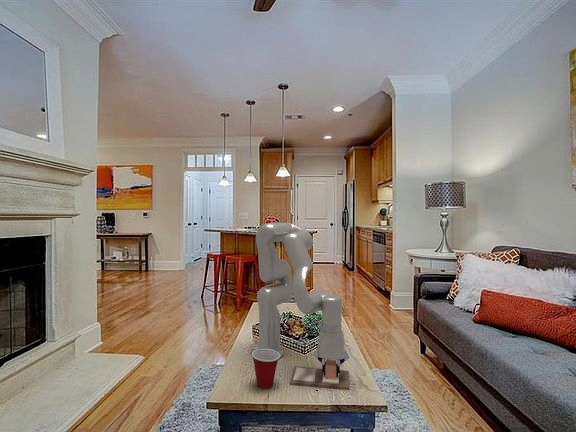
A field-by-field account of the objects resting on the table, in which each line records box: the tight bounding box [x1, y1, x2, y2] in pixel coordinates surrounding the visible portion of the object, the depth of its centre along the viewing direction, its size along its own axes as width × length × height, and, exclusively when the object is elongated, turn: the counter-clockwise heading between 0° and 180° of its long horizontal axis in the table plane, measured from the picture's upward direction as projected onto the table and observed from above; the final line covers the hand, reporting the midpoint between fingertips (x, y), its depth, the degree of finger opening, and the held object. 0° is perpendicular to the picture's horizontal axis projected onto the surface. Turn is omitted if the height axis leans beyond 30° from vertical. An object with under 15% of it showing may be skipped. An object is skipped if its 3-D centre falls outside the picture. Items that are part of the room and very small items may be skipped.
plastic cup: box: [251, 349, 281, 390], centre depth 130 cm, size 11×11×12 cm
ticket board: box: [289, 366, 350, 391], centre depth 135 cm, size 22×13×2 cm, turn 81°
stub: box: [323, 359, 339, 384], centre depth 134 cm, size 6×10×6 cm, turn 171°
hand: (330, 373), depth 134 cm, fingers closed on stub, 4 cm apart
